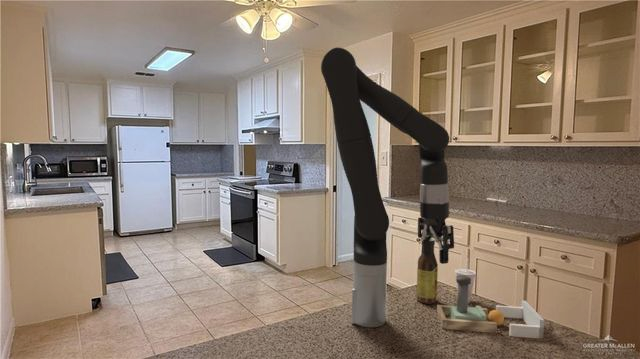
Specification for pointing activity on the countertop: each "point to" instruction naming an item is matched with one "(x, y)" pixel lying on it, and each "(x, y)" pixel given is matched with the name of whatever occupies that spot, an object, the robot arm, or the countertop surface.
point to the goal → (528, 315)
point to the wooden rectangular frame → (464, 321)
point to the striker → (465, 303)
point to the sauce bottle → (427, 276)
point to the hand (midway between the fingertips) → (435, 258)
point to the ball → (496, 317)
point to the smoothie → (469, 274)
